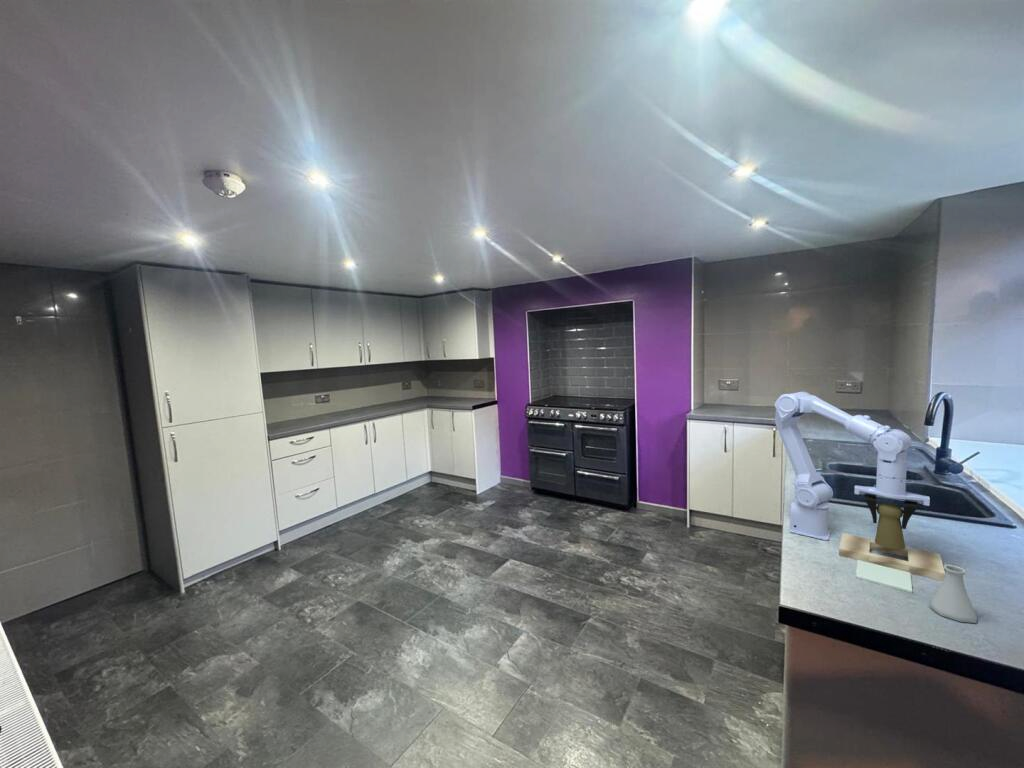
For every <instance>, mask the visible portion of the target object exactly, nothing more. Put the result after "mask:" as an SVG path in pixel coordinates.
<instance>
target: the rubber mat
mask: <svg viewBox="0 0 1024 768" xmlns="http://www.w3.org/2000/svg"><path fill="white" fill-rule="evenodd" d="M855 579H859V580H862V581H865V582H869V583H873V584H877V585H881V586H883V587H884V586H885V587H888V588H891V589H896V590H899V591H903V592H906V593H910V594H913V586H912V577H911V573H909V572H905V571H901V570H897V569H893V568H889V567H885V566H881V565H877V564H873V563H869V562H864V561H860V560H857V563H856V571H855Z"/></svg>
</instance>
